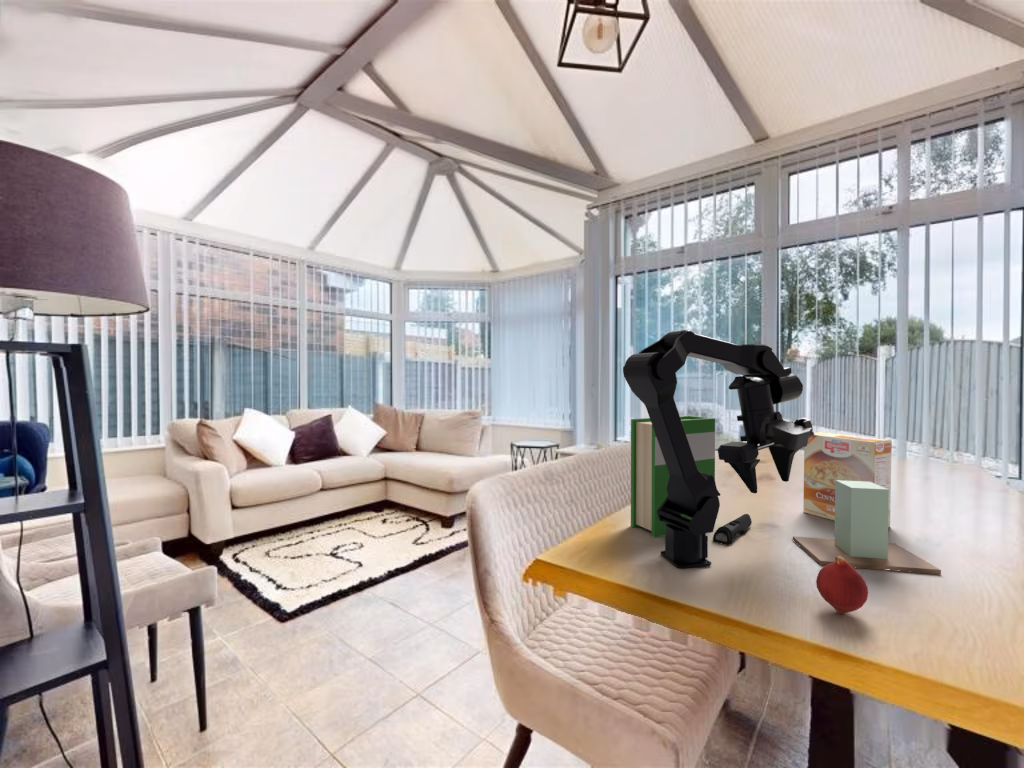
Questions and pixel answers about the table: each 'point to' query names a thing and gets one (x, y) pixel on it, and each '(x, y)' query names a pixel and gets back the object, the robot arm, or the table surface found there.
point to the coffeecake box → (842, 468)
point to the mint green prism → (861, 518)
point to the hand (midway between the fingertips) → (770, 487)
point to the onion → (842, 586)
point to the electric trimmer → (732, 530)
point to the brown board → (897, 557)
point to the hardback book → (663, 467)
